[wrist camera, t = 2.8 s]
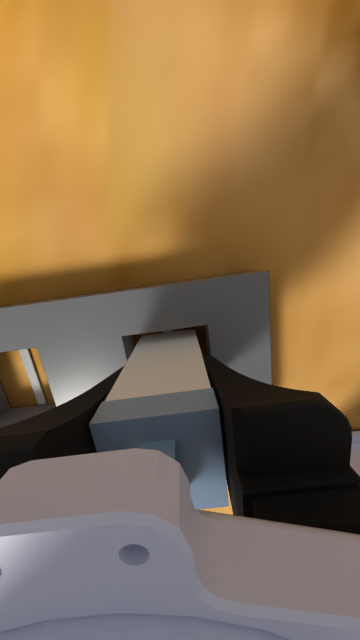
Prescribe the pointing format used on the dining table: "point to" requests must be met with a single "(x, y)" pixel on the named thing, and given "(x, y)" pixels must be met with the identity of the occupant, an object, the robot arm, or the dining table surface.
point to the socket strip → (134, 332)
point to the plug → (168, 412)
